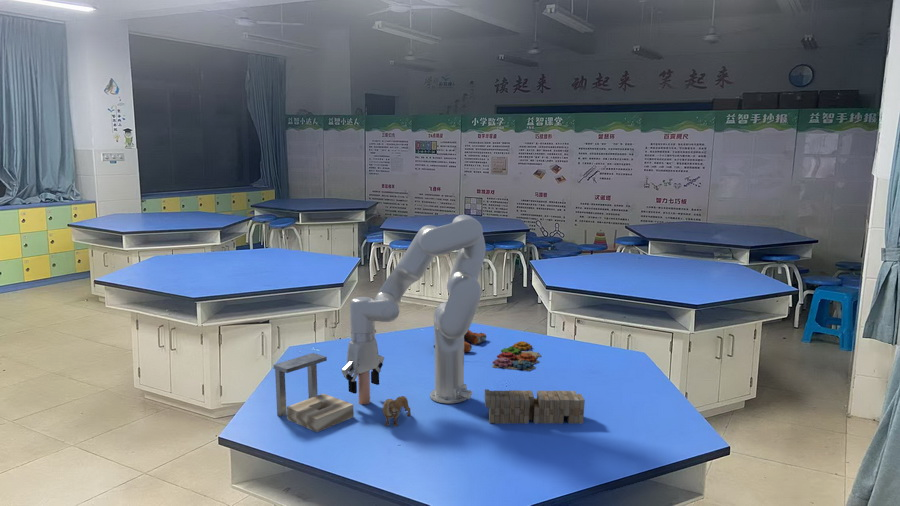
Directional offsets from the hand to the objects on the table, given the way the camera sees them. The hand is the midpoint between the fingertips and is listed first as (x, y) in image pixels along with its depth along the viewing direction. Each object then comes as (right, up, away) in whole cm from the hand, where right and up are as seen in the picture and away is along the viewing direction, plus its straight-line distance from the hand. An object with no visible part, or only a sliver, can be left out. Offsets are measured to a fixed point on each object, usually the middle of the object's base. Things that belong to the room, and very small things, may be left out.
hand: (364, 388), depth 207 cm
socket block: (-12, -7, -11) cm, 18 cm away
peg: (0, -5, +1) cm, 5 cm away
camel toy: (+32, +4, +60) cm, 68 cm away
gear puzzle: (+55, +2, +46) cm, 72 cm away
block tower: (+52, -7, -12) cm, 54 cm away
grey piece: (-18, -6, -6) cm, 20 cm away
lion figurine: (+12, -7, -14) cm, 20 cm away
